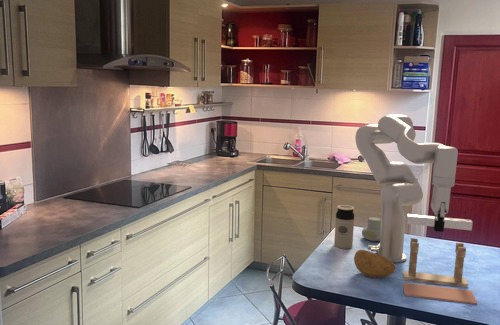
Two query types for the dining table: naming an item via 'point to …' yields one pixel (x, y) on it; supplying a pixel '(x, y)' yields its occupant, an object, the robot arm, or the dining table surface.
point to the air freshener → (372, 229)
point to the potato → (373, 264)
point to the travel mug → (344, 227)
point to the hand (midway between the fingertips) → (438, 229)
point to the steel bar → (430, 220)
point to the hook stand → (433, 278)
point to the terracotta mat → (439, 293)
